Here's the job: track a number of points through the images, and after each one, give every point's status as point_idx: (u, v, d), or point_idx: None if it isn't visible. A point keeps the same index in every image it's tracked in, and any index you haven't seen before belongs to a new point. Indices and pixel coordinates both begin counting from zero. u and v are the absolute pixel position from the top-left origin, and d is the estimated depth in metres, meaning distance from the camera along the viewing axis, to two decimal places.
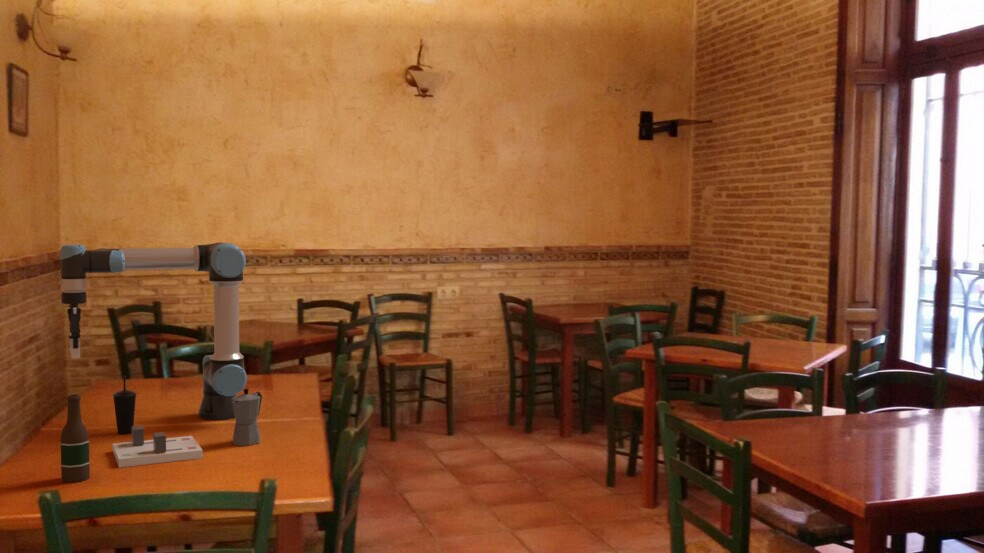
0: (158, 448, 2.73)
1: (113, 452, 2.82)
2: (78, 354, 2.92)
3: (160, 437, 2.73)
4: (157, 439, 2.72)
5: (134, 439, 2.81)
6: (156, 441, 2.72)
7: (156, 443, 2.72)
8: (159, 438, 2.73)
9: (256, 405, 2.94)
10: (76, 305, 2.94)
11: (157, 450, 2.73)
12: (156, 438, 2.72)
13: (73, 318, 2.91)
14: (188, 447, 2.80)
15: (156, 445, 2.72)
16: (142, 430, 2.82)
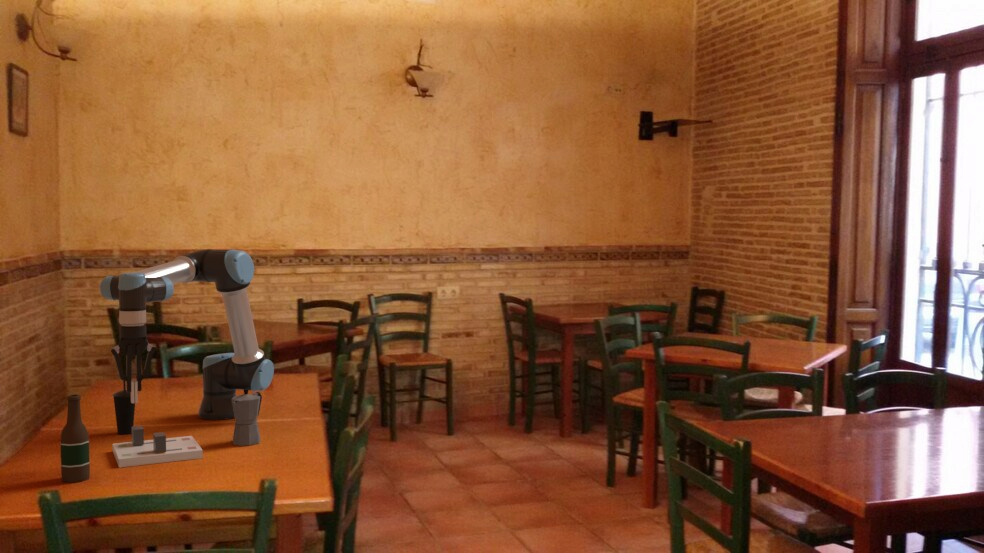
0: (158, 448, 2.73)
1: (113, 452, 2.82)
2: (131, 399, 2.70)
3: (160, 437, 2.73)
4: (157, 439, 2.72)
5: (134, 439, 2.81)
6: (156, 441, 2.72)
7: (156, 443, 2.72)
8: (159, 438, 2.73)
9: (256, 405, 2.94)
10: (120, 339, 2.67)
11: (157, 450, 2.73)
12: (156, 438, 2.72)
13: (115, 359, 2.68)
14: (188, 447, 2.80)
15: (156, 445, 2.72)
16: (142, 430, 2.82)
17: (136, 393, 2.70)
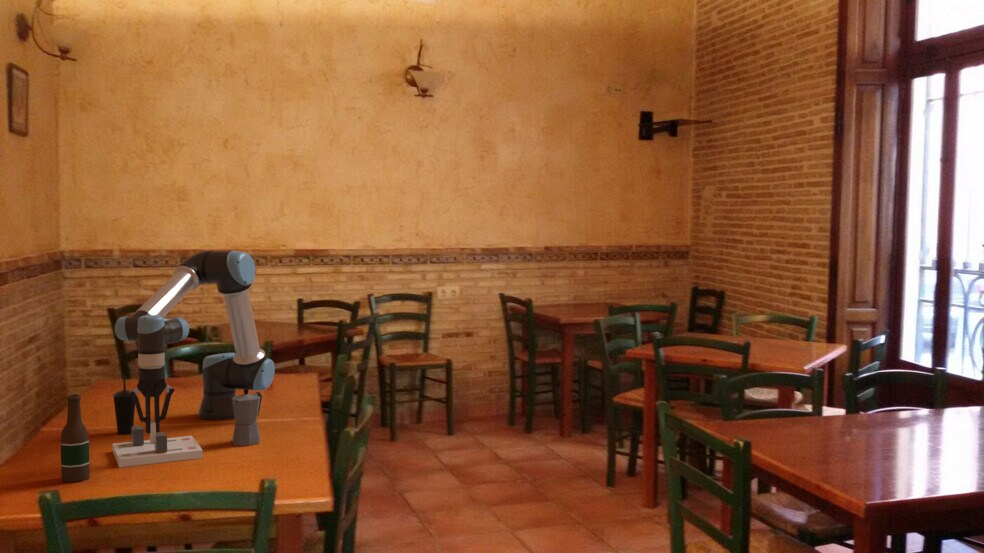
0: (159, 448, 2.73)
1: (113, 452, 2.82)
2: (150, 440, 2.73)
3: (161, 437, 2.73)
4: (158, 439, 2.73)
5: (134, 439, 2.81)
6: (157, 441, 2.73)
7: (157, 443, 2.73)
8: (160, 438, 2.73)
9: (256, 405, 2.94)
10: (139, 382, 2.71)
11: (158, 450, 2.73)
12: (157, 438, 2.72)
13: (134, 401, 2.72)
14: (188, 447, 2.80)
15: (157, 445, 2.73)
16: (142, 430, 2.82)
17: (154, 434, 2.73)
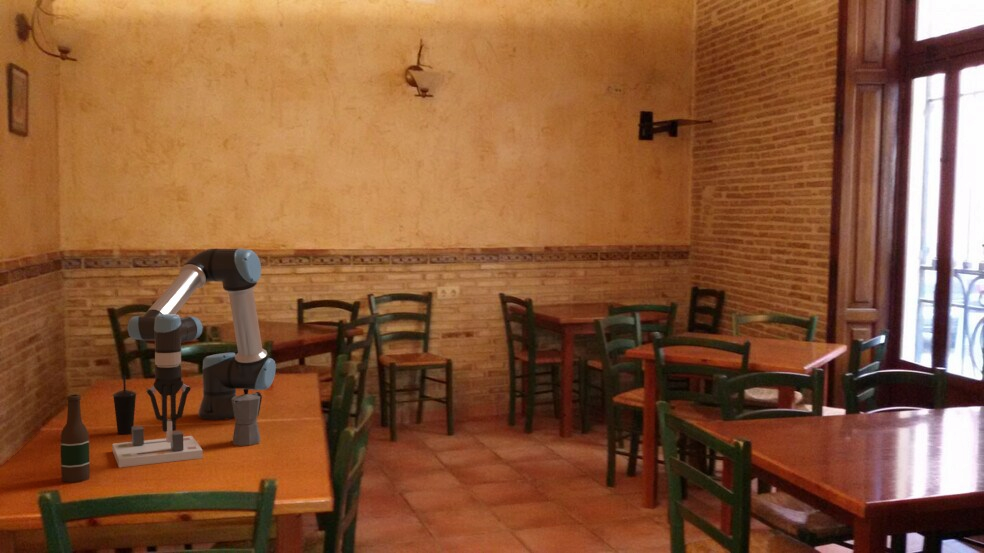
0: (175, 446, 2.75)
1: (113, 452, 2.82)
2: (167, 438, 2.75)
3: (177, 435, 2.75)
4: (174, 437, 2.75)
5: (134, 439, 2.81)
6: (174, 439, 2.75)
7: (173, 441, 2.75)
8: (176, 436, 2.75)
9: (256, 405, 2.94)
10: (155, 380, 2.73)
11: (174, 448, 2.75)
12: (173, 436, 2.75)
13: (151, 399, 2.74)
14: (188, 447, 2.80)
15: (173, 443, 2.75)
16: (142, 430, 2.82)
17: (171, 432, 2.75)
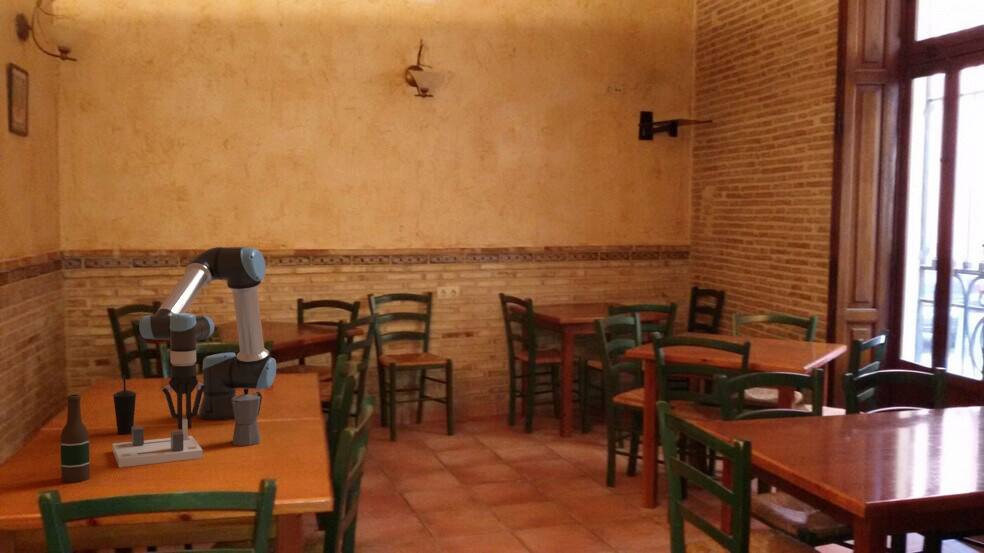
0: (175, 446, 2.75)
1: (113, 452, 2.82)
2: None
3: (177, 435, 2.75)
4: (175, 437, 2.75)
5: (134, 439, 2.81)
6: (174, 439, 2.75)
7: (174, 441, 2.75)
8: (176, 436, 2.75)
9: (256, 405, 2.94)
10: (171, 379, 2.75)
11: (174, 448, 2.75)
12: (174, 436, 2.75)
13: (166, 398, 2.76)
14: (188, 447, 2.80)
15: (174, 443, 2.75)
16: (142, 430, 2.82)
17: (186, 431, 2.77)
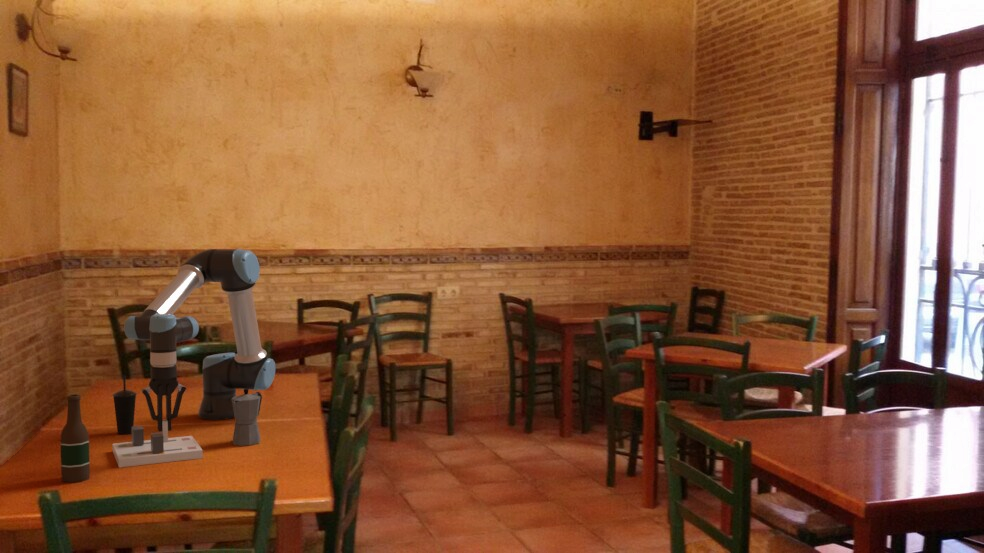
0: (155, 448, 2.72)
1: (113, 452, 2.82)
2: None
3: (157, 437, 2.72)
4: (154, 439, 2.72)
5: (134, 439, 2.81)
6: (154, 441, 2.72)
7: (153, 443, 2.72)
8: (156, 438, 2.72)
9: (256, 405, 2.94)
10: (151, 380, 2.72)
11: (154, 450, 2.72)
12: (153, 438, 2.72)
13: (146, 399, 2.73)
14: (188, 447, 2.80)
15: (153, 445, 2.72)
16: (142, 430, 2.82)
17: (166, 433, 2.75)
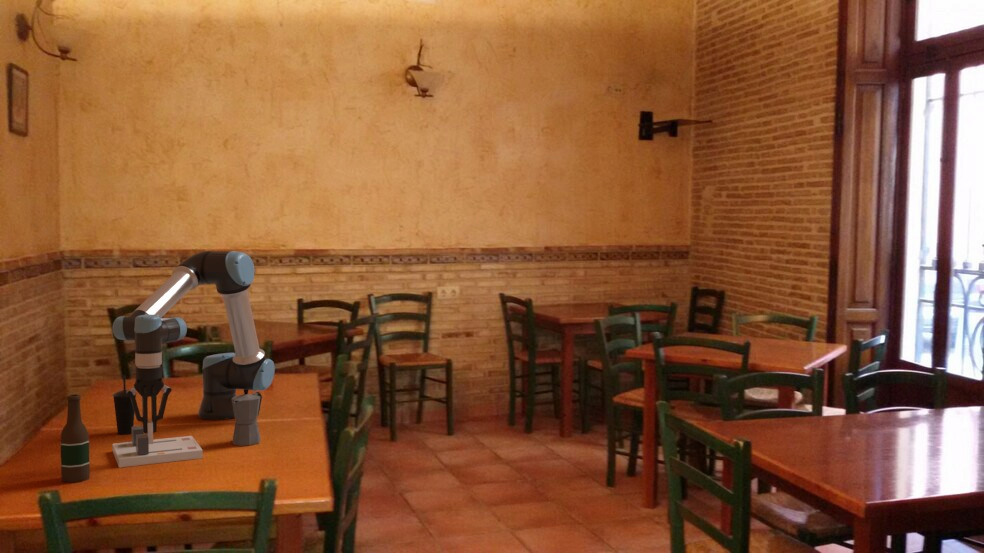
0: (140, 450, 2.70)
1: (113, 452, 2.82)
2: None
3: (142, 439, 2.70)
4: (139, 441, 2.70)
5: (134, 439, 2.81)
6: (139, 443, 2.70)
7: (138, 445, 2.70)
8: (141, 440, 2.70)
9: (256, 405, 2.94)
10: (136, 381, 2.70)
11: (139, 452, 2.70)
12: (138, 440, 2.70)
13: (131, 401, 2.71)
14: (188, 447, 2.80)
15: (138, 447, 2.70)
16: (142, 430, 2.82)
17: (151, 434, 2.73)
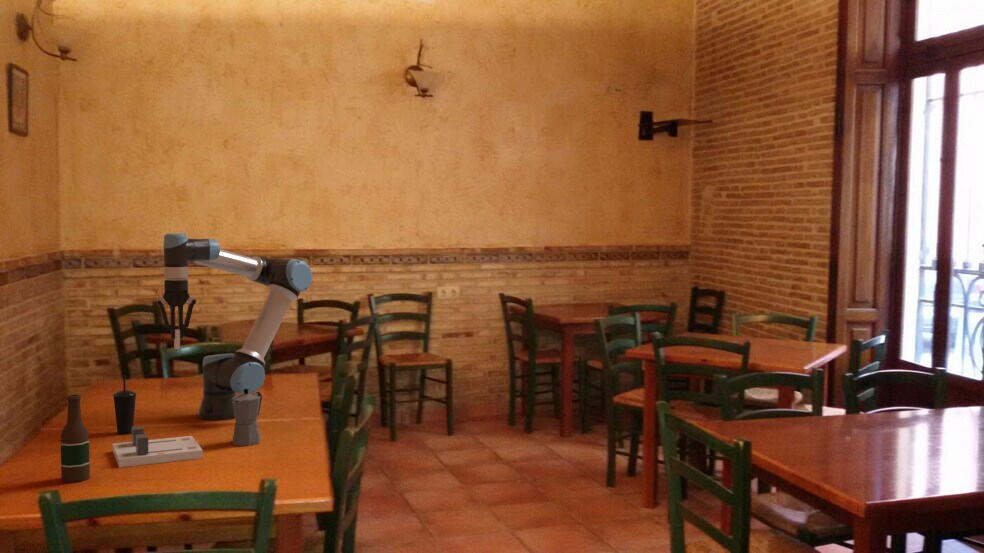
0: (140, 450, 2.70)
1: (113, 452, 2.82)
2: (175, 345, 3.04)
3: (142, 439, 2.70)
4: (139, 441, 2.70)
5: (134, 439, 2.81)
6: (138, 443, 2.70)
7: (138, 445, 2.70)
8: (141, 440, 2.70)
9: (256, 405, 2.94)
10: (165, 292, 3.02)
11: (139, 452, 2.70)
12: (138, 440, 2.70)
13: None
14: (188, 447, 2.80)
15: (138, 447, 2.70)
16: (142, 430, 2.82)
17: (178, 340, 3.04)
